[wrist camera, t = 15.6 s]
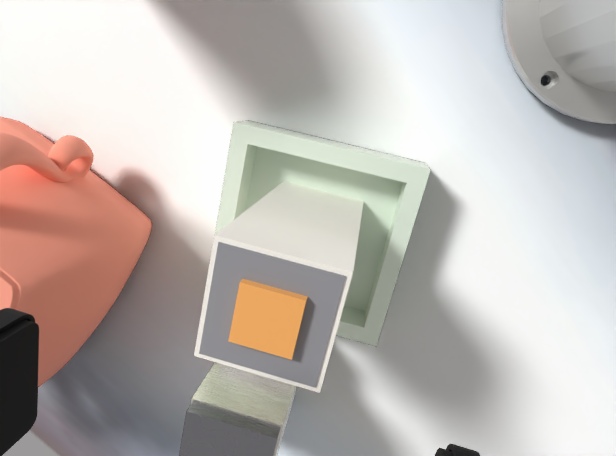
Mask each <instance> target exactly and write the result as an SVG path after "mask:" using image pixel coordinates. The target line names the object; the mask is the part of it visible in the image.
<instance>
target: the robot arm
mask: <svg viewBox="0 0 616 456" xmlns="http://www.w3.org/2000/svg"><path fill="white" fill-rule="evenodd" d="M502 31H503V36H504V41H505V46H506V50H507V53H508V55H509V58H510V60H511V62H512V65H513V67H514V69H515V71H516V73H517V74H518V76H519V77H520V78H521V80H522V81H523V83H524V84H525V85H526V87H527V88H528V89H529V90H530V91H531V92H532V93H533V94H534V95H535V96H536V97H538V98H539V99H540V100H541V101H542V102H543V103H544V104H546V105H548V106H550V107H551V108H553V109H555V110H556V111H558V112H560V113H562V114H564V115H567V116H570V117H573V118H576V119H579V120H582V121H588V122H595V123H603V124H616V0H502ZM543 76H546V77H547V78H548V82H547V84H546V85H544V86H543V85H541V83H540V82H541V78H542V77H543ZM38 359H39V326H38V324H37V323H35V318H34V317H33V316H32V315H31V314H28V313H24V312H21V311H18V310H15V309H11V308H4V309H2V310H0V456H2V455H3V454H4V453H5V452H6V451H7V450H8V449H10V448H11V447H12V446H13V445H14V444H15V443H16V442H17V441H18V440H19V439H20V438H22V437H23V436H24V435H25V434H26V433H27V432H28V431H29V430H30V429H31V427H32V426H33V424H34V422H35V420H36V417H37V399H38ZM435 456H480V455H479V453H478V452H477V451H473V450H470V449H467V448H464V447H460V446H457V445H454V444H449V445H448V446H447V448H446V450H445V449H442V448H439V449H438V450H437V452H436V454H435Z"/></svg>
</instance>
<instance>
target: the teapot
mask: <svg viewBox="0 0 616 456" xmlns="http://www.w3.org/2000/svg"><path fill="white" fill-rule="evenodd" d="M92 162H93V153H92V151H91V149H90V147H89V146H88V145H87V144H86V143H85V142H84V141H83V140H82V139H80V138H78V137H75V136H71V135H66V136H64V137H62V138H60V139H59V140H57V141H56V143H55V144H54V143H52V142H51V141H49V140H48V139H47V138H45V137H44V136H42V135H41V134H39V133H38V132H36V131H35V130H33V129H32V128H30V127H29V126H27V125H25V124H23V123H21V122H19V121H16V120H13V119H9V118H4V117H0V310H2V309H4V308H11V309H15V310H18V311H21V312H24V313H28V314H31V315H32V316H33V317H34V318H35V323H37V324H38V326H39V359H38V387H39V386H41V385H42V384H43V383H45V382H46V381H47V380H48V379H50V378H51V377H52V376H53V375H55V374H56V373H57V372H58V371H59V370H60V369H61V368H62V367H63V366H64V365H65V364H66V363H67V362H68V361H69V360H70V359H71V358H72V357H73V356H74V355H75V354H76V352H77V351H78V350H79V349H80V348H81V347H82V345H83V344H84V343H85V342H86V340H87V339H88V338H89V337H90V335H91V334H92V333H93V331H94V330H95V329H96V328H97V326H98V325H99V324H100V322H101V321H102V320H103V318H104V317H105V315H106V314H107V313H108V311H109V310H110V308H111V307H112V305H113V304H114V302H115V300H116V299H117V297H118V296H119V294H120V292H121V291H122V289H123V287H124V286H125V284H126V282H127V280H128V278H129V276H130V275H131V273H132V271H133V269H134V267H135V265H136V263H137V262H138V260H139V258H140V256H141V254H142V252H143V250H144V248H145V245H146V243H147V241H148V239H149V236H150V233H151V228H152V223H151V220H150V219H149V218H148V217H147V216H146V215H145V214H144V213H143V212H142V211H140V210H139V209H138V208H137V207H136V206H135V205H133V204H132V203H131V202H130V201H129V200H127V199H126V198H125V197H124V196H122V195H121V194H120V193H118V192H117V191H116V190H115V189H113V188H112V187H111V186H110V185H108V184H107V183H106V182H105V181H103V180H102V179H101V178H99V177H98V176H97V175H95V174H94V173H93V172H92V171H90V168H91V165H92Z"/></svg>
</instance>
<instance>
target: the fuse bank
mask: <svg viewBox="0 0 616 456" xmlns="http://www.w3.org/2000/svg"><path fill="white" fill-rule="evenodd" d="M296 389H297V386H294V385H291V384H288V383H284V382H281V381H277V380H274V379H271V378H267V377H264V376H260V375H257V374H254V373H250V372H247V371H243V370H240V369H237V368H233V367H230V366H227V365H223V364H220V363H216V362H215V363H214V364H213V366H212V368H211V369H210V371H209V372H208V374H207V375H206V377H205V378H204V380H203V382H202V383H201V385H200V386H199V388H198V389H197V391H196V392H195V394H194V396H193V397H192V399H191V405H190V407H189V408H188V410H187V412H186V418H185V424H184V429H183V435H182V441H181V447H180V453H179V456H277V455H278V452H279V448H280V445H281V441H282V438H283V435H284V431H285V428H286V424H287V421H288V417H289V414H290V410H291V407H292V403H293V400H294V396H295V393H296Z"/></svg>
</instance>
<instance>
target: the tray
mask: <svg viewBox="0 0 616 456" xmlns="http://www.w3.org/2000/svg"><path fill="white" fill-rule="evenodd" d="M430 170H431V169H430V168H429V167H428V166H427V165H426V163H424V162H420V161H415V160H411V159H407V158H403V157H399V156H395V155H391V154H386V153H382V152H378V151H374V150H370V149H366V148H361V147H357V146H353V145H349V144H345V143H341V142H336V141H332V140H328V139H324V138H320V137H316V136H312V135H307V134H303V133H299V132H295V131H291V130H287V129H282V128H278V127H274V126H270V125H266V124H262V123H258V122H253V121H249V120H248V121H236V122H233V128H232V134H231V140H230V146H229V152H228V158H227V164H226V170H225V176H224V182H223V188H222V194H221V200H220V206H219V212H218V218H217V224H216V230H215V234H216V233H217V232H219V231H220V230H221V229H223V228H224V227H225V226H227V225H228V224H229V223H230V222H232V221H233V220H234V219H236V218H237V217H238V216H240V215H241V214H242V213H243V212H245V211H246V210H247V209H249V208H250V207H251V206H253V205H254V204H255V203H256V202H258V201H259V200H260V199H262V198H263V197H264V196H265V195H267V194H268V193H269V192H271V191H272V190H273V189H275V188H276V187H277V186H278V185H280V184H281V183H282V182H284V181H286V182H290V183H294V184H298V185H302V186H306V187H310V188H313V189H317V190H321V191H325V192H329V193H333V194H337V195H341V196H345V197H349V198H353V199H357V200H361V201H364V203H363V209H362V216H361V223H360V230H359V236H358V243H357V250H356V257H355V263H354V270H353V275H352V278H351V282H350V286H349V289H348V293H347V297H346V300H345V304H344V307H343V311H342V315H341V318H340V322H339V326H338V329H337V333H336V336H340V337H343V338H347V339H350V340H354V341H358V342H361V343H365V344H368V345H372V346H375V347H376V346H377V343H378V340H379V337H380V333H381V330H382V327H383V324H384V320H385V317H386V314H387V311H388V307H389V304H390V301H391V298H392V294H393V291H394V288H395V285H396V281H397V278H398V275H399V271H400V268H401V265H402V262H403V258H404V255H405V252H406V249H407V245H408V242H409V239H410V236H411V232H412V229H413V226H414V223H415V219H416V216H417V213H418V210H419V206H420V203H421V200H422V197H423V193H424V190H425V187H426V183H427V180H428V177H429V174H430Z"/></svg>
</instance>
